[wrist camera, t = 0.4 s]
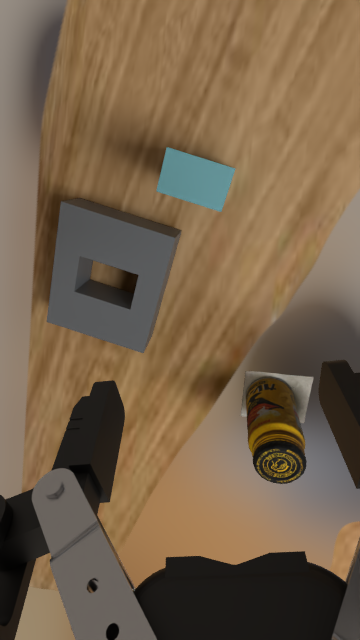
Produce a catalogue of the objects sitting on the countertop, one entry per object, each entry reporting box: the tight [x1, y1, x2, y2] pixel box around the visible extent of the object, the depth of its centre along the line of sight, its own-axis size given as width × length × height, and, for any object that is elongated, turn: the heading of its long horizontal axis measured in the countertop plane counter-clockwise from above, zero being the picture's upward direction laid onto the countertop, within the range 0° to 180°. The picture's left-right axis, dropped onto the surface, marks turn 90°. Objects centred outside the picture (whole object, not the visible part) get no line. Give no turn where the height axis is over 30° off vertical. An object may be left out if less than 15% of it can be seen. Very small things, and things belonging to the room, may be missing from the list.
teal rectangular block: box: [157, 147, 235, 212], centre depth 29 cm, size 3×5×12 cm, turn 74°
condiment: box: [241, 371, 313, 484], centre depth 39 cm, size 7×8×12 cm
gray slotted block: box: [47, 198, 181, 353], centre depth 38 cm, size 14×12×4 cm
